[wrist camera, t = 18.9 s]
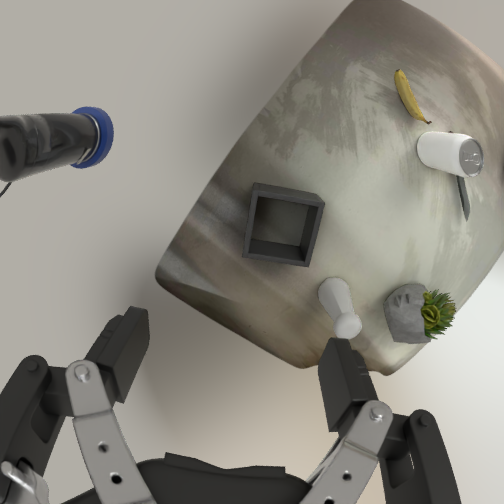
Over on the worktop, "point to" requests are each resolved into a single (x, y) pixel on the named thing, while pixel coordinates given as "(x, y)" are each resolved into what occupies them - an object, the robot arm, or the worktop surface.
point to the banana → (408, 96)
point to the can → (451, 153)
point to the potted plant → (417, 314)
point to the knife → (463, 195)
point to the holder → (277, 250)
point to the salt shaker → (339, 307)
